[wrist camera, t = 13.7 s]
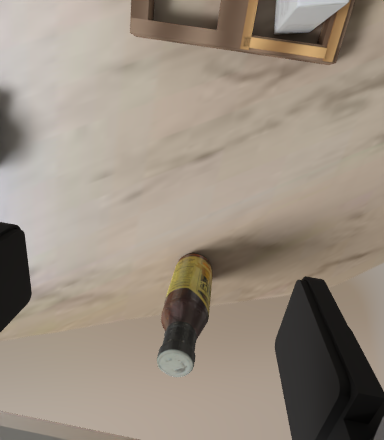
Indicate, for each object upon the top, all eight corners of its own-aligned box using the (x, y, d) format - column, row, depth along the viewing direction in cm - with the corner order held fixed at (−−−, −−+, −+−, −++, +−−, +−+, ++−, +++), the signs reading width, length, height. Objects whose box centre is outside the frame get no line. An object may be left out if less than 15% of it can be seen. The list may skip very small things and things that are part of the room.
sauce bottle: (212, 282, 50) (204, 391, 32) (176, 281, 50) (149, 386, 32) (213, 250, 47) (205, 348, 29) (175, 248, 48) (144, 343, 30)
